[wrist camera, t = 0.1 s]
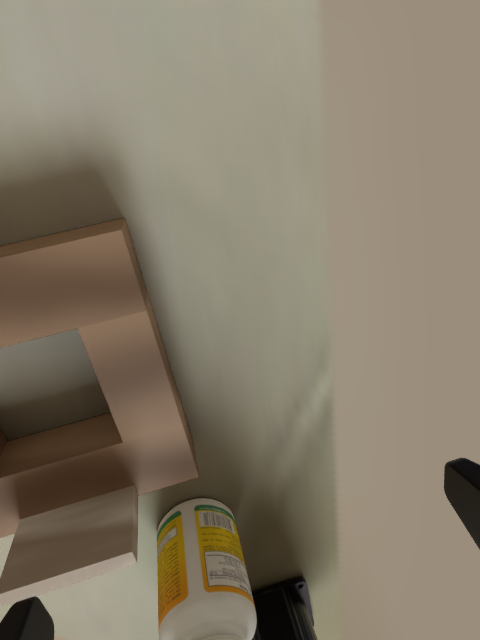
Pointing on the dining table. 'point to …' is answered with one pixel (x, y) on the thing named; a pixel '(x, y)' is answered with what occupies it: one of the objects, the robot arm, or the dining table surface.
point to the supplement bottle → (202, 575)
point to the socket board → (94, 433)
